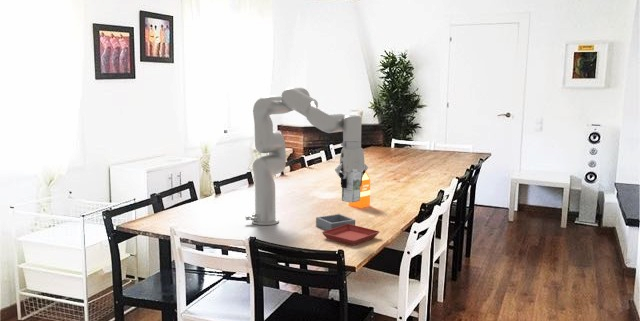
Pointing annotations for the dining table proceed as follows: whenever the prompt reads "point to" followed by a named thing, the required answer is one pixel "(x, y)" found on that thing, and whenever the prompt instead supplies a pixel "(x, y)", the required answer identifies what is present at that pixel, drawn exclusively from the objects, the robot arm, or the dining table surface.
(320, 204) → the dining table surface
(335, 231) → the plant saucer
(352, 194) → the syrup box
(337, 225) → the bin
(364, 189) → the orange juice
